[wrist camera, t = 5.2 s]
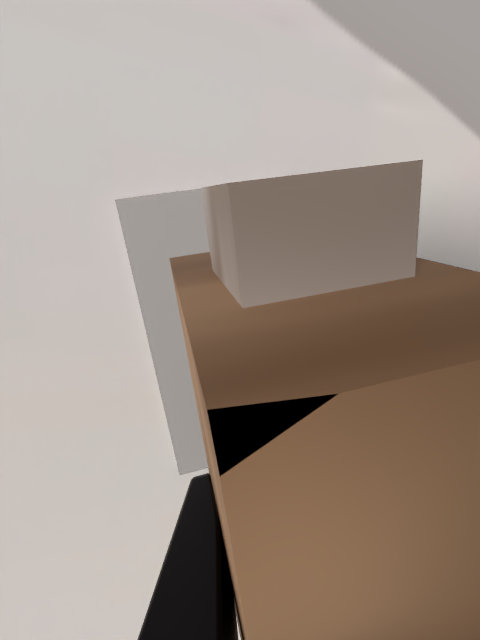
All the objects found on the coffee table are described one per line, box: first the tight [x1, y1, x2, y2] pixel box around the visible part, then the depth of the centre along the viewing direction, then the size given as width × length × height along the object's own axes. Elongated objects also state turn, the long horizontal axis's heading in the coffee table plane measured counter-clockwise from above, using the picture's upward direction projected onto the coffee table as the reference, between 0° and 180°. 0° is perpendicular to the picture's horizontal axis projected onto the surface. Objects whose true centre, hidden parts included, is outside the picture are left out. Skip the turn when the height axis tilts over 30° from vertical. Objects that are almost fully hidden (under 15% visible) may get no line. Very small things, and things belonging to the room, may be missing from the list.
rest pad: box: [115, 189, 210, 475], centre depth 15 cm, size 12×6×1 cm, turn 7°
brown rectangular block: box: [169, 160, 480, 640], centre depth 6 cm, size 11×3×6 cm, turn 7°
